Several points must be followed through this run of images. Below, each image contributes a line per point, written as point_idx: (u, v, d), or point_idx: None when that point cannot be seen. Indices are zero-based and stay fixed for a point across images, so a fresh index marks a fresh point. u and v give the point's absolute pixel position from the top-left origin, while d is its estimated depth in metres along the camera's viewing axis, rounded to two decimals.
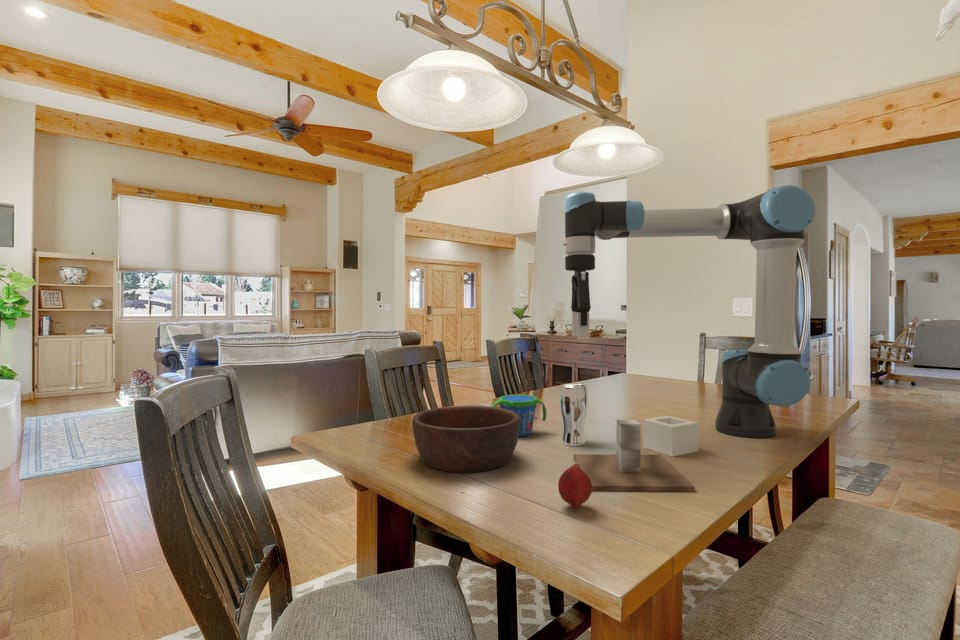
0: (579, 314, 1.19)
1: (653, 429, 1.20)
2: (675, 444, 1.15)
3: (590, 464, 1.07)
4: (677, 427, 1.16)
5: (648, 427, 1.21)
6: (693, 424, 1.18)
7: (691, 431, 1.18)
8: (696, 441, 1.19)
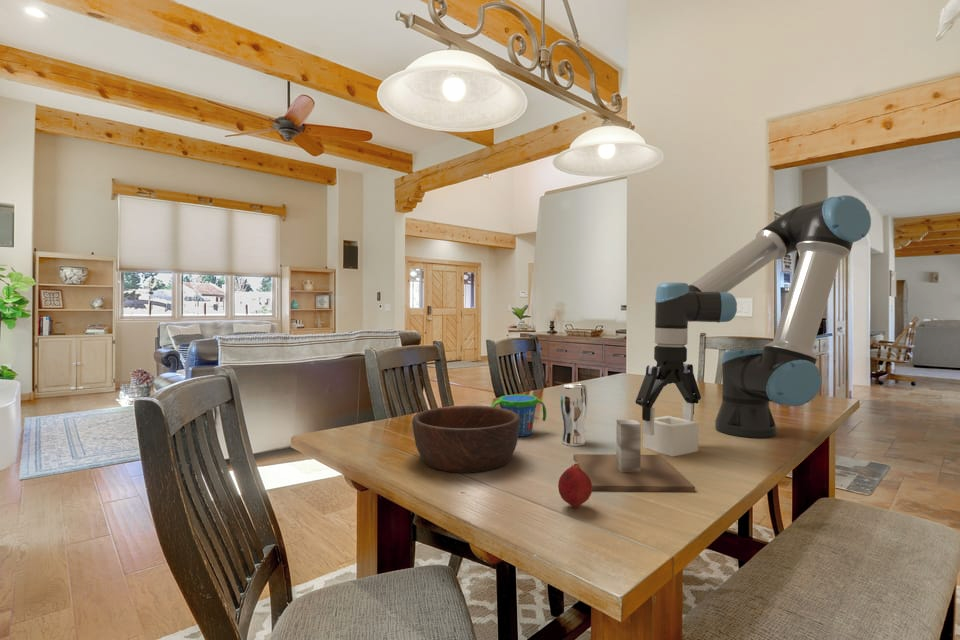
0: None
1: None
2: (675, 444, 1.15)
3: (590, 464, 1.07)
4: (677, 427, 1.16)
5: None
6: (693, 424, 1.18)
7: (691, 431, 1.18)
8: (696, 441, 1.19)
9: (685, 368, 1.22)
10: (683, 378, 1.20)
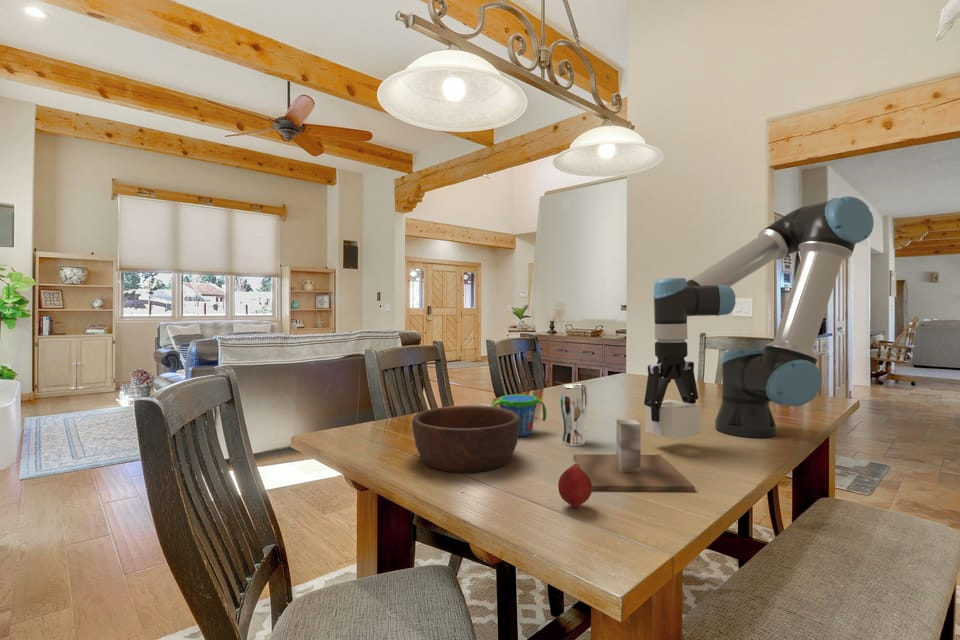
0: None
1: None
2: (677, 427, 1.15)
3: (590, 464, 1.07)
4: (679, 410, 1.16)
5: (650, 411, 1.21)
6: (695, 407, 1.18)
7: (693, 414, 1.18)
8: (698, 424, 1.19)
9: (686, 364, 1.22)
10: (683, 374, 1.20)
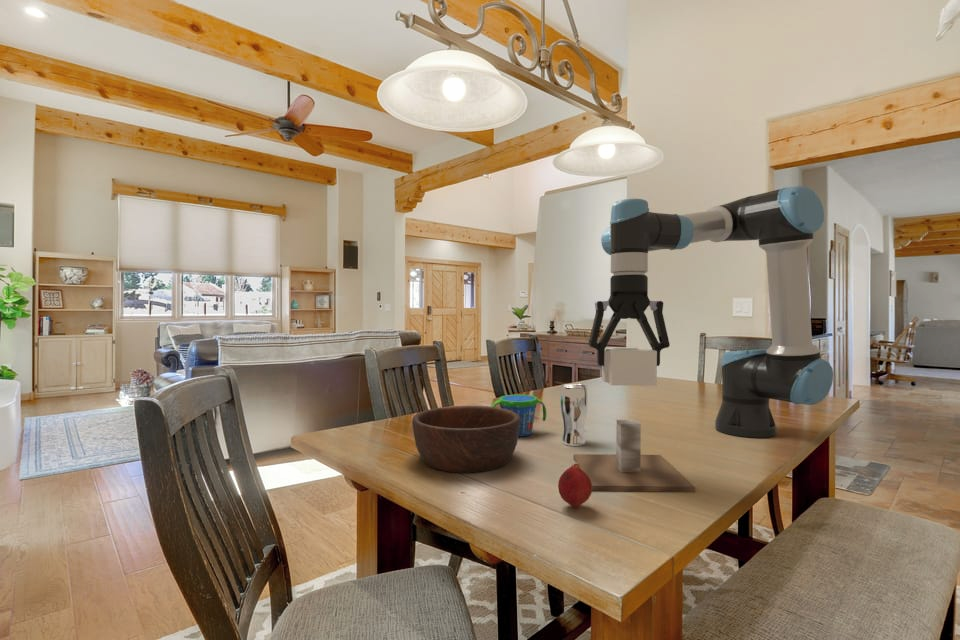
0: None
1: None
2: (617, 371, 0.99)
3: (590, 464, 1.07)
4: (620, 352, 0.99)
5: None
6: (648, 352, 0.99)
7: (644, 360, 0.99)
8: (653, 373, 0.99)
9: (652, 304, 1.02)
10: (642, 314, 1.01)
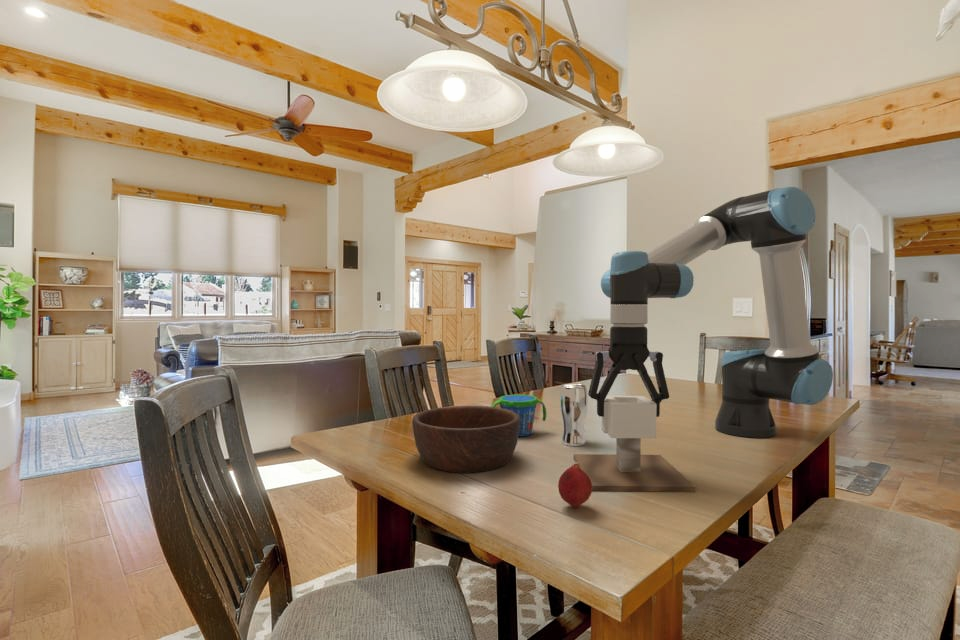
0: None
1: None
2: (616, 424, 0.99)
3: (590, 464, 1.07)
4: (620, 405, 0.99)
5: None
6: (648, 405, 0.99)
7: (644, 413, 0.99)
8: (653, 426, 0.99)
9: (652, 355, 1.02)
10: (642, 366, 1.01)
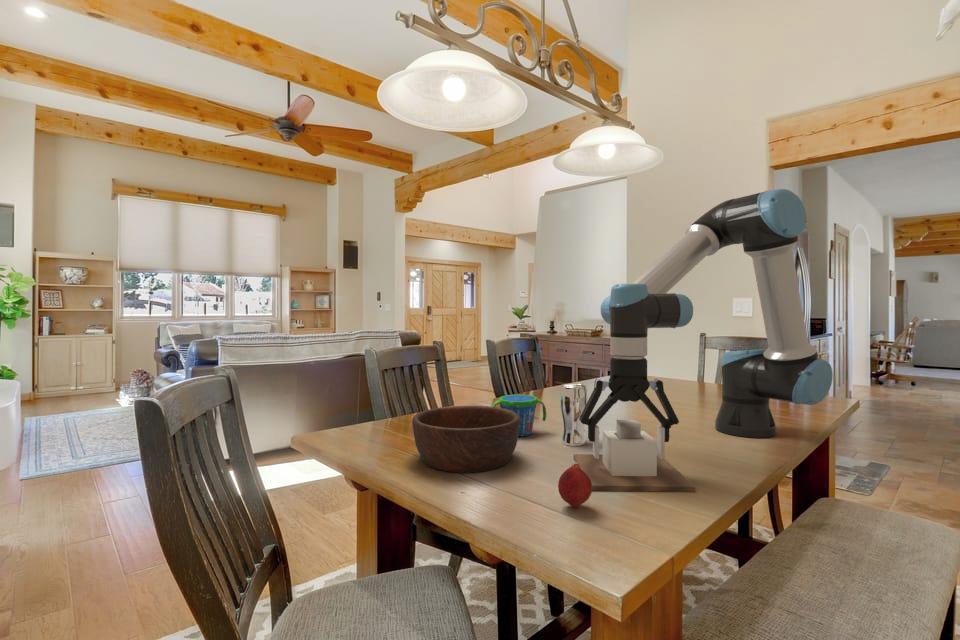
0: None
1: (605, 442, 1.05)
2: (617, 462, 0.99)
3: (590, 464, 1.07)
4: (620, 443, 0.99)
5: (604, 440, 1.07)
6: (648, 442, 0.99)
7: (644, 450, 0.99)
8: (653, 464, 0.99)
9: (652, 385, 1.03)
10: (644, 396, 1.01)
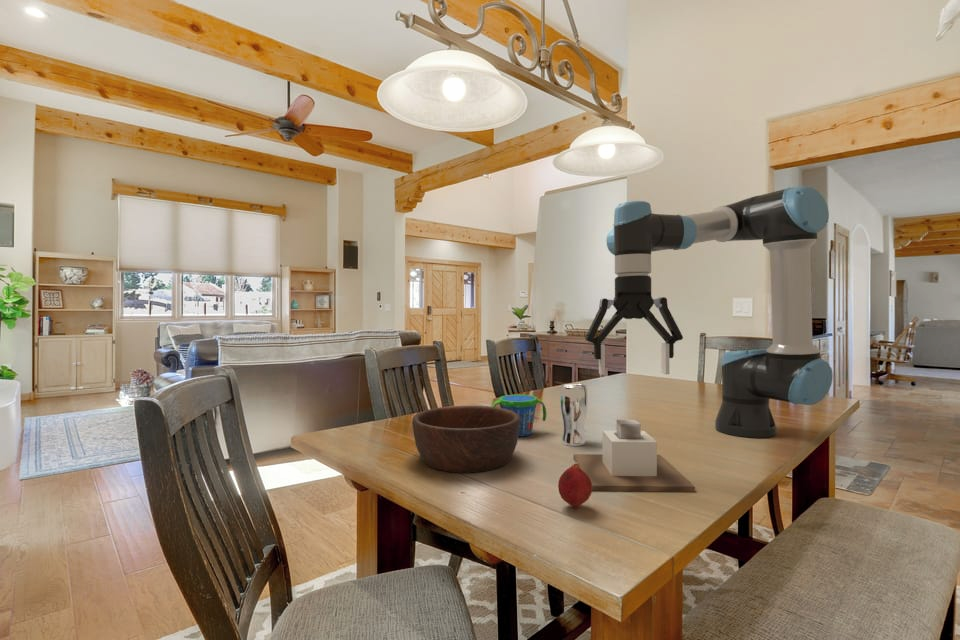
0: None
1: (605, 442, 1.05)
2: (617, 462, 0.99)
3: (590, 464, 1.07)
4: (620, 443, 0.99)
5: (604, 440, 1.07)
6: (648, 442, 0.99)
7: (644, 450, 0.99)
8: (653, 464, 0.99)
9: (656, 302, 1.05)
10: (649, 313, 1.03)
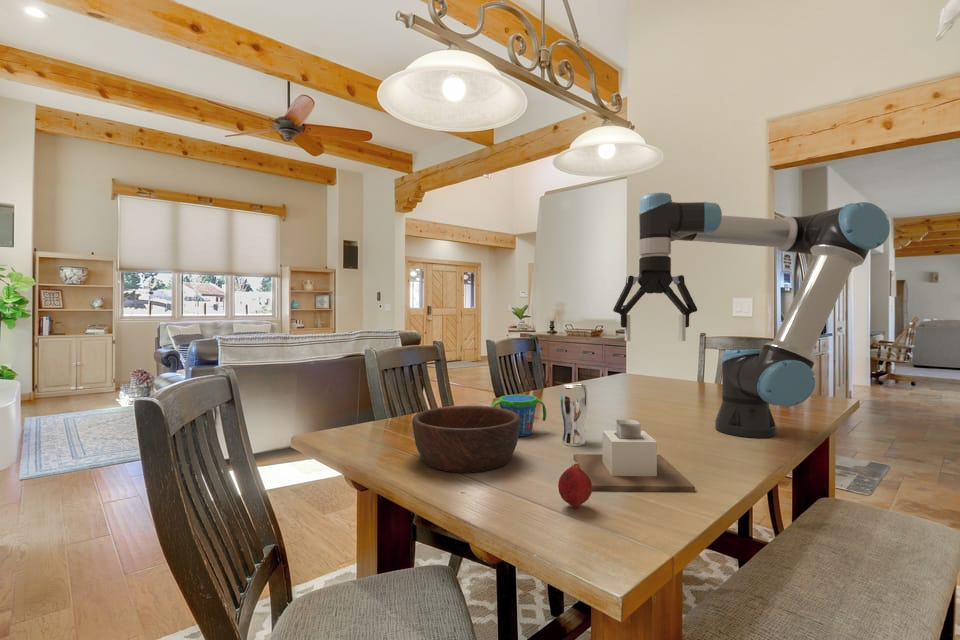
0: None
1: (605, 442, 1.05)
2: (617, 462, 0.99)
3: (590, 464, 1.07)
4: (620, 443, 0.99)
5: (604, 440, 1.07)
6: (648, 442, 0.99)
7: (644, 450, 0.99)
8: (653, 464, 0.99)
9: (675, 279, 1.22)
10: (668, 288, 1.21)
